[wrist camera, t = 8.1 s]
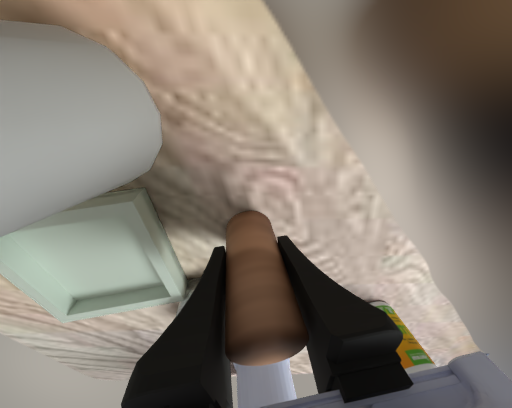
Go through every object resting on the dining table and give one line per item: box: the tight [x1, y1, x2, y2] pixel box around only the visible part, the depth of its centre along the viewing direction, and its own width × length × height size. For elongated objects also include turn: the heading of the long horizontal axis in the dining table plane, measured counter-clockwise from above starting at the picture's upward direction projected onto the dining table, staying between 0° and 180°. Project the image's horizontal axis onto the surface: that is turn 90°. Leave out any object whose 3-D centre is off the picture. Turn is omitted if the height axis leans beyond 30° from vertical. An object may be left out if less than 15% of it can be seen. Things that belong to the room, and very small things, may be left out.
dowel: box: [225, 211, 309, 366], centre depth 11 cm, size 4×4×8 cm
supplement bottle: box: [369, 301, 437, 374], centre depth 20 cm, size 5×5×10 cm
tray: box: [0, 188, 188, 323], centre depth 13 cm, size 10×10×2 cm
